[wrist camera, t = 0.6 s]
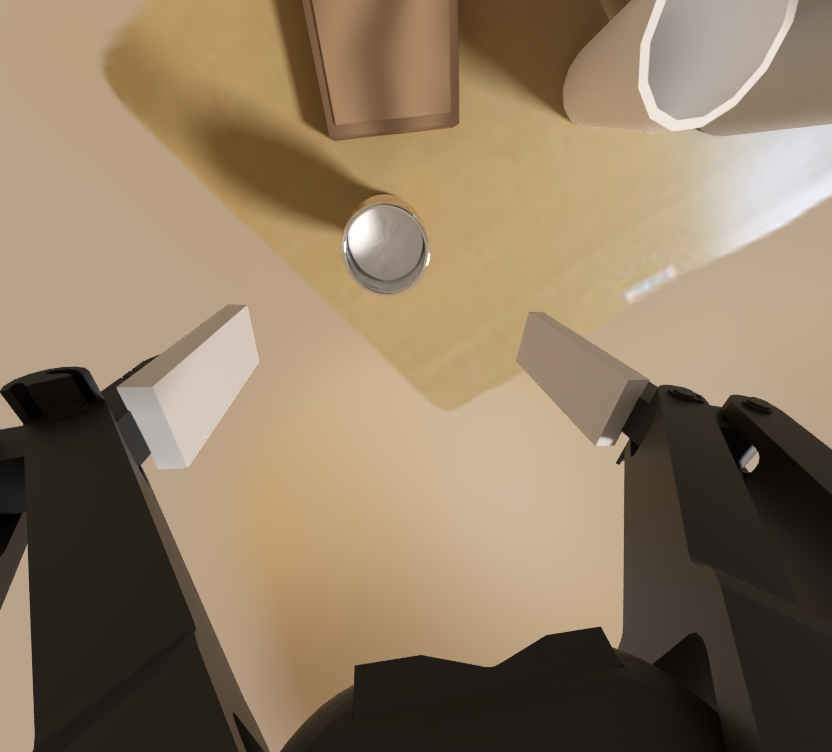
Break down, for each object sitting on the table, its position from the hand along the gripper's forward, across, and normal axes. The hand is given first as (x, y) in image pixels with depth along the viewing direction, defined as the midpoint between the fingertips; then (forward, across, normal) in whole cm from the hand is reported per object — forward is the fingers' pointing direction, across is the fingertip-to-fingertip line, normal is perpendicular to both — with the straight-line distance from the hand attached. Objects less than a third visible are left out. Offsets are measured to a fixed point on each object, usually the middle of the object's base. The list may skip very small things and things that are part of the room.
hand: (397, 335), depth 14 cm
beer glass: (+25, +1, +3) cm, 26 cm away
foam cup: (+24, +21, +17) cm, 36 cm away
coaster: (+24, 0, +17) cm, 30 cm away
